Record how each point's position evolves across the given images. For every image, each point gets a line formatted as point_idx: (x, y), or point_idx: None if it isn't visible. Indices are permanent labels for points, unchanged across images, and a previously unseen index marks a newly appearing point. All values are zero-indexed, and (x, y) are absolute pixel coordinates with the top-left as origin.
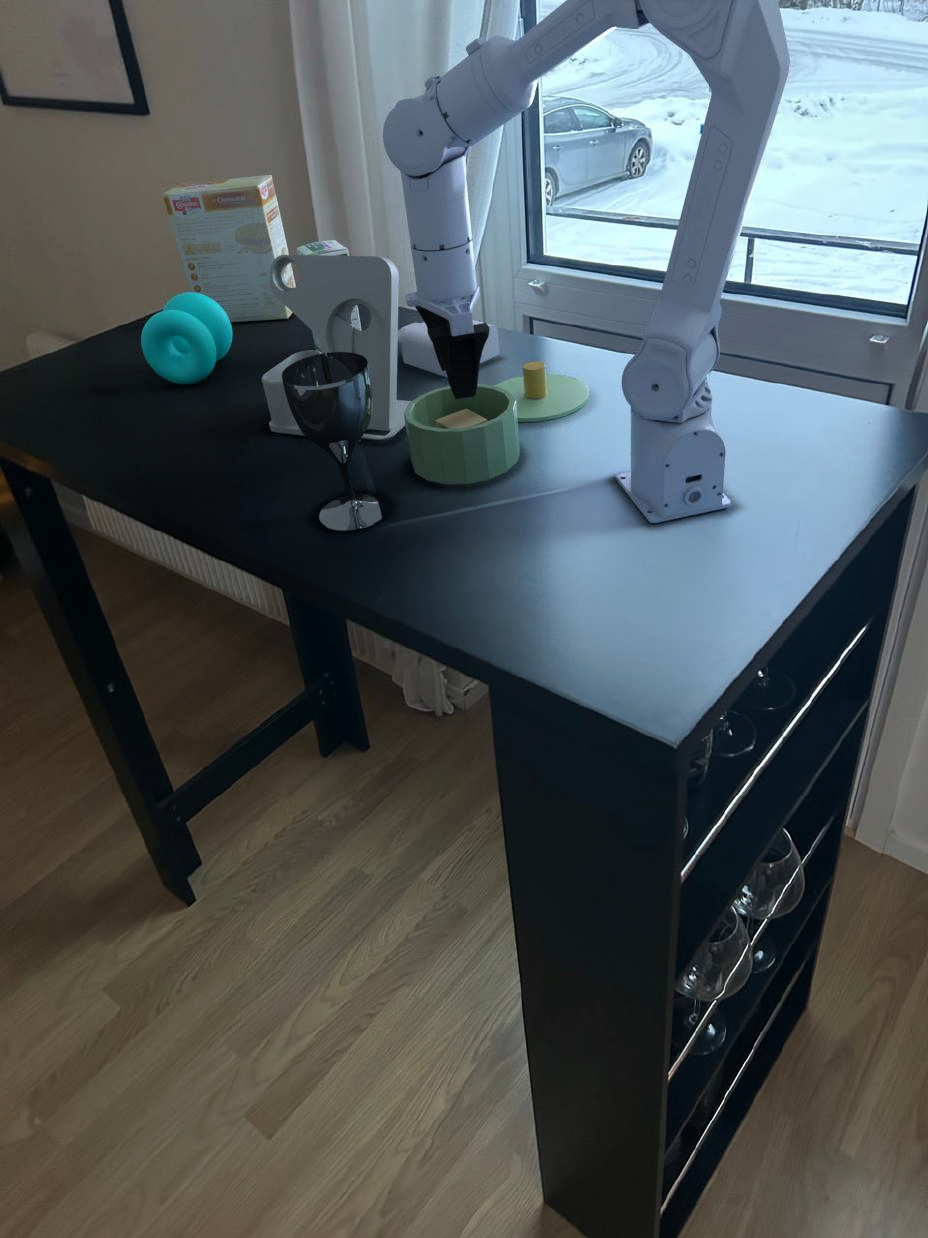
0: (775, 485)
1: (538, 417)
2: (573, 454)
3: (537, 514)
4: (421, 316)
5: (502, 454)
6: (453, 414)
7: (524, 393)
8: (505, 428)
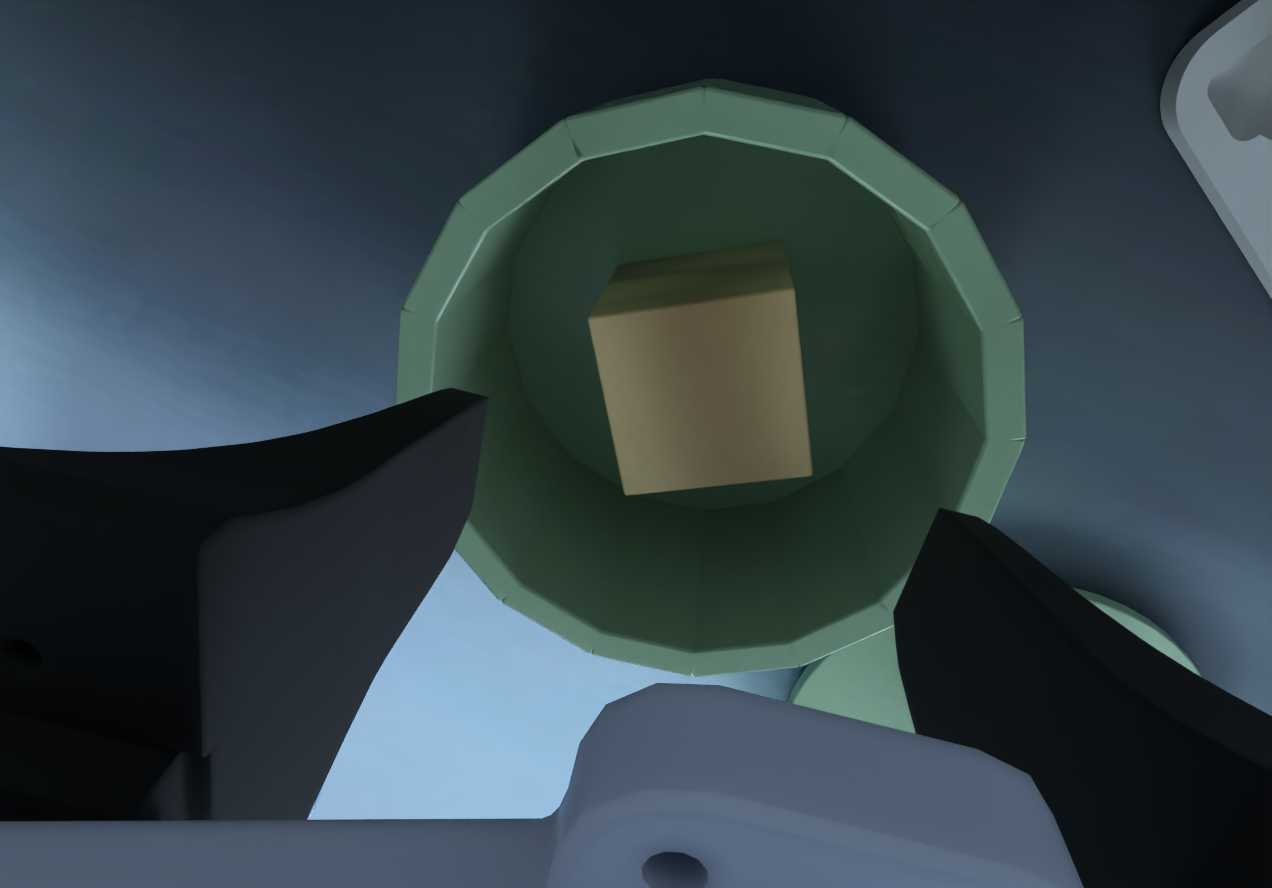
0: None
1: (805, 682)
2: (538, 638)
3: (209, 364)
4: (1199, 733)
5: None
6: (788, 395)
7: None
8: None
